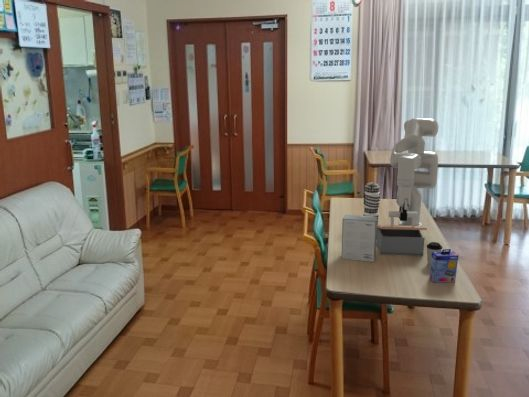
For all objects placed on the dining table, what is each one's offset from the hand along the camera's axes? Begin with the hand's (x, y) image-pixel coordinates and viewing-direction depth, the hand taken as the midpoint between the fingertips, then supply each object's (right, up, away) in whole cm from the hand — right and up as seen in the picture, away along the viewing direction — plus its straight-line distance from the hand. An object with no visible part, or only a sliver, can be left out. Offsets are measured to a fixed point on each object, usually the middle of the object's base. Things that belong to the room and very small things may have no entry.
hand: (402, 219), depth 244 cm
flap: (0, -5, +4) cm, 6 cm away
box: (0, -15, +8) cm, 17 cm away
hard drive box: (-22, -18, -3) cm, 29 cm away
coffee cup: (+11, -20, -11) cm, 26 cm away
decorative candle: (-7, -6, +43) cm, 44 cm away
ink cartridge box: (+9, -25, -27) cm, 38 cm away
